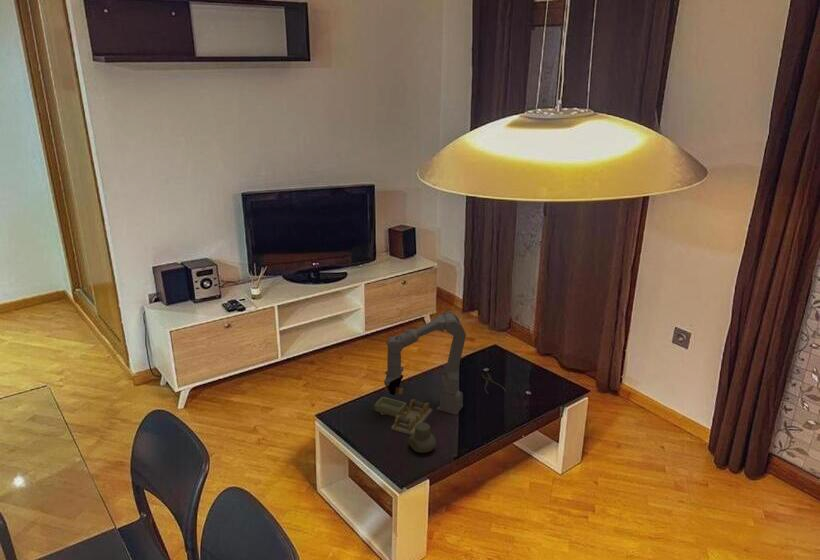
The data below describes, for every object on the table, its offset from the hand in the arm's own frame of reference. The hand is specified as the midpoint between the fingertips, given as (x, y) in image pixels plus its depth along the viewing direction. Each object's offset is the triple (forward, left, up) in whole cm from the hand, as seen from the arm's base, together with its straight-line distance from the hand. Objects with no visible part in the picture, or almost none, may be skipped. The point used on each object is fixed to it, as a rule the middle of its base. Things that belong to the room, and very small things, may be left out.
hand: (393, 392), depth 265 cm
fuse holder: (-10, +2, -10) cm, 14 cm away
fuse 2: (-10, -5, -7) cm, 13 cm away
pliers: (-29, -42, -10) cm, 52 cm away
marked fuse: (0, 0, 0) cm, 0 cm away
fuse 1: (-10, +9, -7) cm, 15 cm away
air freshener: (-22, +18, -10) cm, 30 cm away
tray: (+2, -1, -10) cm, 10 cm away
